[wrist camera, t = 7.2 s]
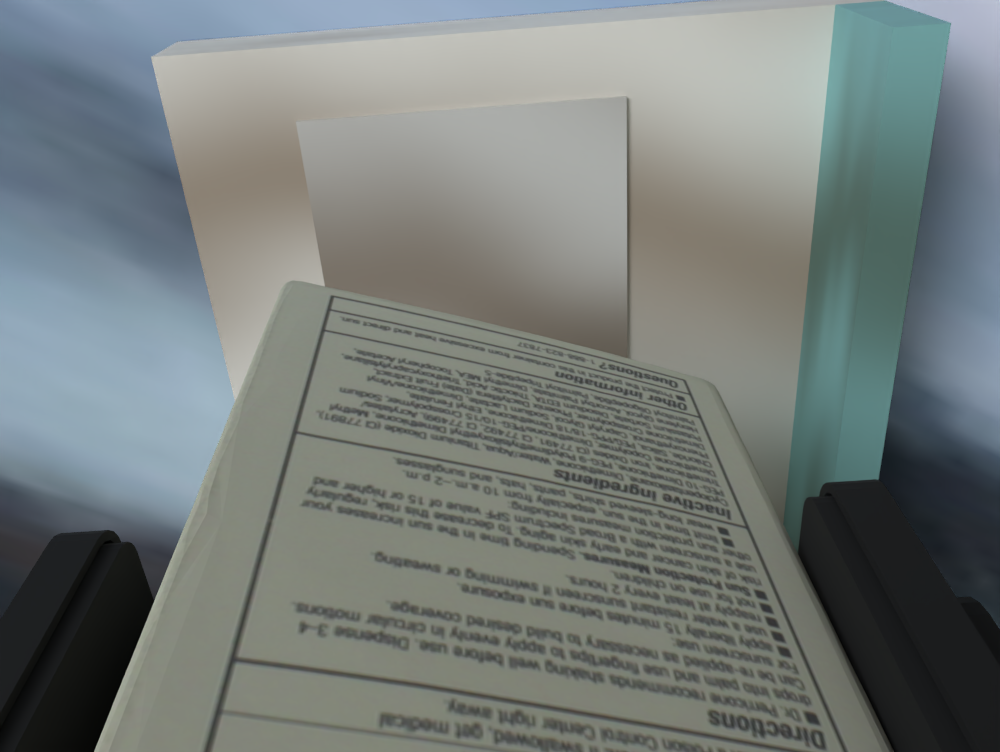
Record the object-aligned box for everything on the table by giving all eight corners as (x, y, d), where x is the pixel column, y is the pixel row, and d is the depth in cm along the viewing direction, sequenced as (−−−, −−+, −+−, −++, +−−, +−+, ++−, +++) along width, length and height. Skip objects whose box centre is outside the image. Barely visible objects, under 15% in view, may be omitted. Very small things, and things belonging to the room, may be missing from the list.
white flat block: (765, 799, 27) (805, 934, 23) (356, 823, 27) (338, 961, 24) (852, -11, 16) (951, 22, 13) (177, 41, 16) (97, 88, 13)
